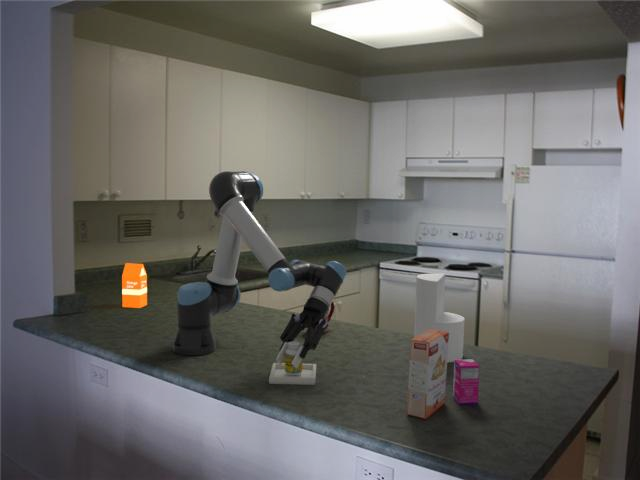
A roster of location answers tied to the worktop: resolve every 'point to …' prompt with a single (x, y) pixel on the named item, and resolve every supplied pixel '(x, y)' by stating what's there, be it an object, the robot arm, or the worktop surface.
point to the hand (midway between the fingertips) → (286, 363)
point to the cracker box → (427, 373)
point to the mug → (328, 316)
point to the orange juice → (134, 286)
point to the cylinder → (437, 313)
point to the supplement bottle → (289, 357)
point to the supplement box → (466, 382)
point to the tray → (303, 379)
